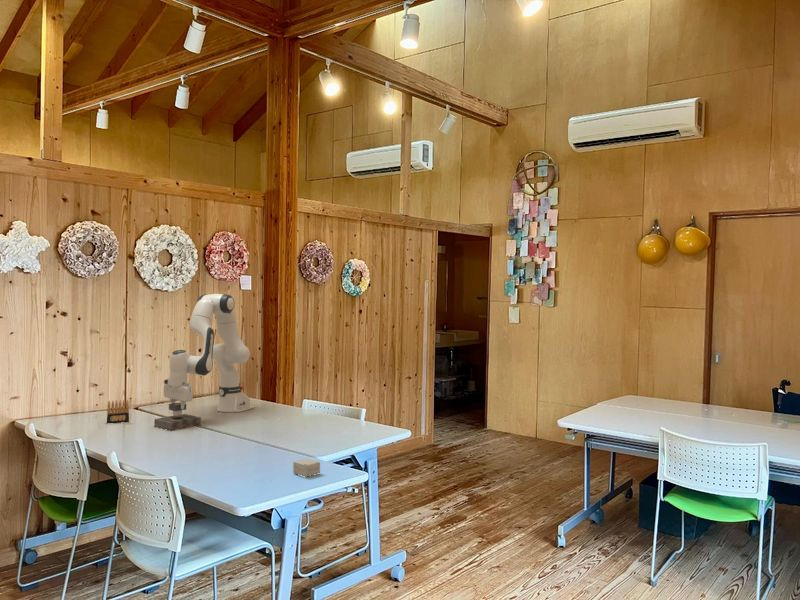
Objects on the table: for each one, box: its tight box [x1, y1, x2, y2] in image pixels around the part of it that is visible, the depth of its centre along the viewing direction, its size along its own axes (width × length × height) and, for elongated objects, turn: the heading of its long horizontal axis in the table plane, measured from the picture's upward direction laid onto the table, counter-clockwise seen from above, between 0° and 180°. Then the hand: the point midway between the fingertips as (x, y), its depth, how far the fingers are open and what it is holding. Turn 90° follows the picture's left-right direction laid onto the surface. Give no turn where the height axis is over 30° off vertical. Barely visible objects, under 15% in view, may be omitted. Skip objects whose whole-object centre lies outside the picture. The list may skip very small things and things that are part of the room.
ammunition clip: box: [106, 399, 130, 424], centre depth 332 cm, size 11×2×12 cm, turn 121°
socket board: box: [153, 413, 202, 432], centre depth 328 cm, size 18×14×5 cm
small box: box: [292, 458, 321, 478], centre depth 252 cm, size 8×8×5 cm
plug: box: [168, 401, 187, 416], centre depth 327 cm, size 6×6×6 cm
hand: (177, 408), depth 328 cm, fingers closed on plug, 5 cm apart
